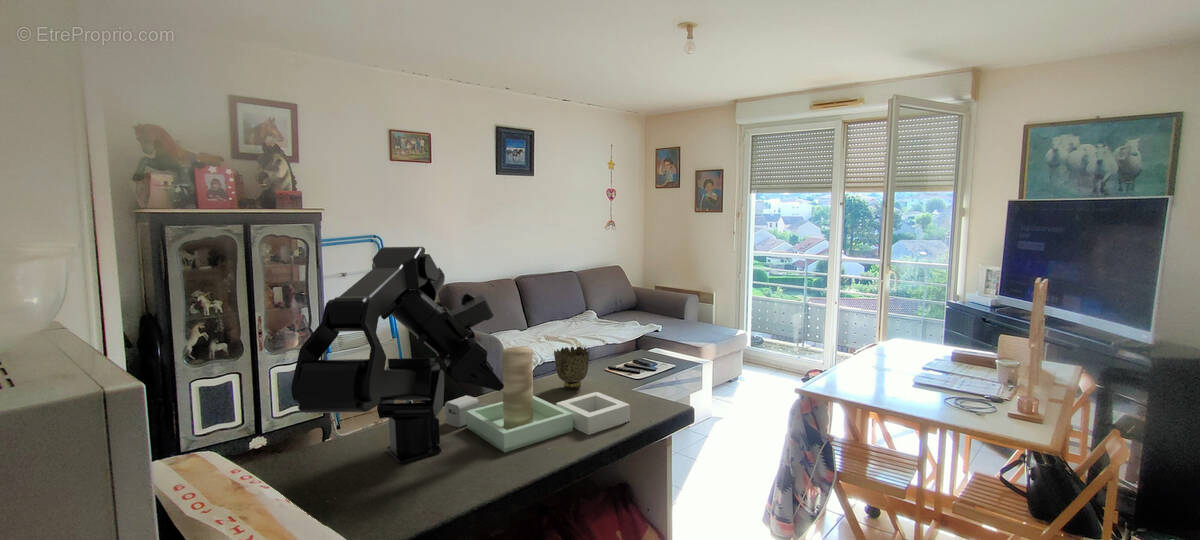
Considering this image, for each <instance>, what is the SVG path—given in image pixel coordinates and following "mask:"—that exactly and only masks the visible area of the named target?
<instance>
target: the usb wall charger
mask: <svg viewBox="0 0 1200 540" xmlns="http://www.w3.org/2000/svg"><path fill="white" fill-rule="evenodd" d="M487 405H488V402H485V403H481V404H480V400H479V398H477V397H475V396H471V395H464V396H460V397H458V398H455V399H452V400H448V401H446V402H445V404H444V416H445V423H446V424H447V425H450V426H452V427H456V428H458V429H459V428H461V427H464V426H467V420H466V411H468V410H472V409H476V408H480V407H484V406H487Z"/></svg>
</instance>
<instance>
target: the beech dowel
mask: <svg viewBox="0 0 1200 540" xmlns="http://www.w3.org/2000/svg"><path fill="white" fill-rule="evenodd" d="M501 357H502V358H501V366H502V368H501V370H502V383H503V385H504V387H503V389H502V402H503V416H504V428H505V429H506V430H509V429H512V428H516V427H519V426H523V425H526V424H530V423H533V396H534V383H533V381H534V379H533V378H534V377H533V375H534V374H533V372H534V371H533V349H532V348H530V347H525V346H513V347H507V348H504V349H502V351H501Z"/></svg>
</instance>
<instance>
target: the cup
mask: <svg viewBox="0 0 1200 540" xmlns="http://www.w3.org/2000/svg"><path fill="white" fill-rule="evenodd" d="M590 352H591V351H590V349H588V351H587V348H586V347H581V346H577V347H576V348H575V347H574V346H571V347H570V348H569V347H567V346H566V347H561V349H560V350H559V349H558V348H557V349H556V350H555V349H554V350H553V355H554V363H555V369H556V374H557V376H558V378H559V379H560V380H561V381H563V387H564V388H565V389H567V390H570V391H571V390H572V391H573V390H578V389H580V388H581V385H582V381H583V380H585V378H586V376H587V374H588V370H589V362H590Z"/></svg>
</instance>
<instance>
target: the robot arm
mask: <svg viewBox="0 0 1200 540" xmlns="http://www.w3.org/2000/svg"><path fill="white" fill-rule="evenodd" d="M444 283H445V273H444V272H443V270H442V269H441V268H440V266H439V265H437V264H436V263H435V262H434V260H433V258H432V256H431V255H430V254H429V253H426V248H425V247H424V246H382V247H380V249H379V250H378V251H377V252H376V254H374V256H373V257H372V265H371V270H370V271H369V272H367V273H366V274H365V275H364V276H362V277H361V278H360V279H359V280H358V281H356V282H355V283H354V284H352V285H351V286H350V287H349V288H348V289H347V290H346V291H344V292H343V293H342V294H341V295H339V296H337V297H336V296H335V298H333V299H329V300H328V301H327V302H326V304H325V306H324V310H323V313H322V319H321V323H320V324H319V325H318V326H317V328H316V329H314V331H313V332H312V333H311V334H310V336H309V337H308V338H307V339H306V341H304V343H303V344H302V346H301V347H300V348H299V351H298V355H297V360H296V364H295V369H294V374H293V377H292V381H291V396H292V399H293V401H294V402H295V403H298V407H297V409H298V410H299V411H300V412H301V413H303V414H304V413H305V414H329V413H330V414H331V413H335V414H337V413H339V414H340V413H367V412H369V411H371V410H372V409H375V408H376V407H377V409H376V410H377V414H378V419H386V418H387V419H388V431H389V433H388V434H389V446H387V447H386V452H387V453H388V454H390V456H391V457H393V458H394V459H395V461H397V462H398V464H405V463H408V462H412V461H415V460H419V459H421V458H425V457H429V456H432V455H436V454H439V453H441V452H442V450H443V449H442V447H441V446H440V444H441V436H440V435H441V434H440V419H439V418H438V417H437V416H438V415H439V413H440V412H441V411H442V409H443V408H444V397H445V396H444V395H445V373H446V375H447V376H448V377H449V378H451V380H453V381H454V382H455V383H461V384H463V383H464V384H467V385H468V384H469V385H473V386H478V387H480V388H481V387H482V388H486V389H489V390H493V391H497V392H501V391H503V387H504V385H503V381H501V379H499V377H498V376H497V375H496V373H495V371H494V368H493V367H492V365H491V364H490V363H489V362H488V359H487V358H488V350H487V348H485V346H484V345H483V344H481V343H480V341H478V340H477V339H476V336H475V331H474V330H473V329H472V328H473V327H475V326H477V325H478V324H480V323H482V322H484V321H488V320H491V319H492V318H493V317H494V316H495V314H494V312H493V310H492V309H491V306H490V304H489V303H488V301H487V299H486V297H484V295H482V294H481V295H480V294H478V295H476V297H475V296H473V295H472V294H470V293H469V292H466V293H464V294H463V295H460V298H459V305H456V308H453V309H452V310H449V309H448V308H447V307H445V306H440V305H439V304H438V303H436V302H435V301H436V299H437V297H438V295H439V294H440V291H441V290H442V288H443V285H444ZM390 316H392V318H394V319H395V320H397V322H399V323H400V324H401V325H402V326H404V328H406V329H407V330H408V331H409V332H411V333H412V334H413V335H414V336H416V340H417V341H418V342H419V343H421V345H423V344H425V345H426V346H427V347H428V348H430V349H431V350H432V351H433V352H434V353H435V354H436V356H437V358H439V360H441V361H444V370H445V372H444V370H443V369H440V368H441V366H440V364H439V363H438V362H436V357H434V358H433V357H432V358H431V357H428V358H427V357H411V358H408V357H407V358H401V357H400V358H387V356H386V355H387V354H386V353H385V350H384V348H383V345H382V343H381V342H380V339H379V336H378V335H377V330H378V323H379V318H381V319H382V320H386V319H387V318H389V317H390ZM340 332H363V333H364V335H365V338H366V340H367V342H368V345H369V347H370V352H369V356H368V358H362V359H361V358H360V359H359V358H355V359H354V358H353V359H349V358H347V359H346V358H345V359H320V358H321V357H322V356H323V355H324V353H325V352H326V351H327V350H328V349H329V347H330V346H331V345H332V344H333V342H334V341H335V340H336V339H337V337H338V336H339V334H340ZM386 361H387V366H386ZM395 401H397V403H396V402H395ZM398 401H430V402H401V403H400V402H398Z"/></svg>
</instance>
